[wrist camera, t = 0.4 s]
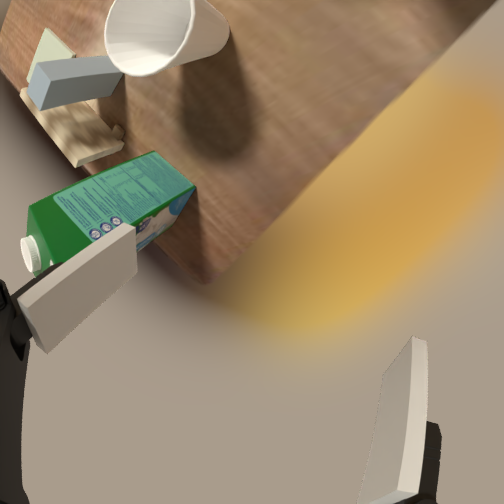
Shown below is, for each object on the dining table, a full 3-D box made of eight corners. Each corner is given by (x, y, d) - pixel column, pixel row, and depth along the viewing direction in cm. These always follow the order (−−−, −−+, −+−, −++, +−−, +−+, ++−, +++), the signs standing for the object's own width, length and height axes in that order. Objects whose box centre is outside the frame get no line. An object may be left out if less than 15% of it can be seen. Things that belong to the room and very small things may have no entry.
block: (108, 55, 40) (36, 62, 28) (124, 71, 40) (50, 81, 29) (95, 80, 43) (26, 92, 31) (110, 96, 43) (39, 112, 32)
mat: (29, 79, 48) (26, 79, 47) (48, 27, 40) (45, 28, 39) (53, 109, 49) (50, 110, 48) (75, 54, 41) (72, 54, 41)
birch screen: (60, 93, 46) (17, 103, 38) (68, 72, 44) (24, 80, 35) (117, 157, 48) (72, 176, 40) (128, 135, 45) (81, 151, 37)
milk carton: (154, 149, 45) (11, 214, 25) (196, 186, 45) (61, 276, 25) (134, 191, 50) (11, 265, 30) (172, 226, 51) (55, 318, 31)
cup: (181, -10, 31) (118, -27, 21) (260, 1, 29) (210, -27, 19) (160, 65, 38) (95, 69, 28) (233, 84, 36) (176, 87, 26)
